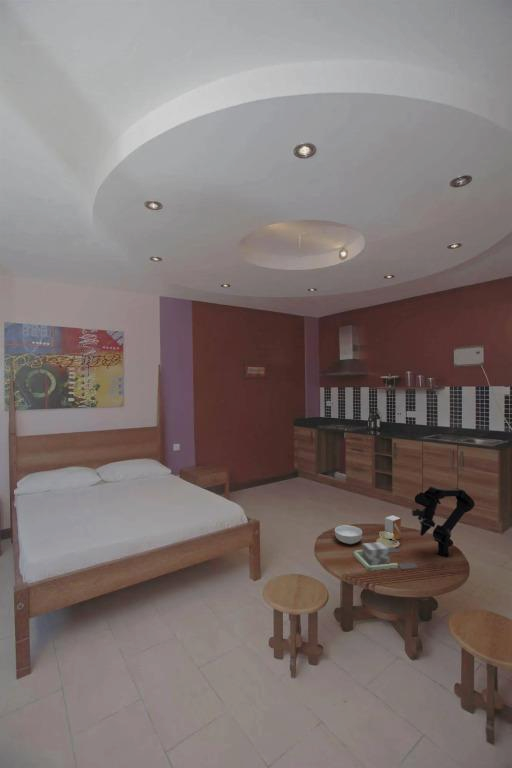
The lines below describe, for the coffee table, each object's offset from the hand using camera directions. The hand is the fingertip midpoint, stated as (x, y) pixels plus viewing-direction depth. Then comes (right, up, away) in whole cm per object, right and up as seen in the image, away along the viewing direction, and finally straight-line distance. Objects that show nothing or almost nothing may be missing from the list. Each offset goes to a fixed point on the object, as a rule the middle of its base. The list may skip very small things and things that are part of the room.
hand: (421, 535), depth 202 cm
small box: (-6, -13, +27) cm, 30 cm away
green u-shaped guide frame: (-22, -13, -1) cm, 26 cm away
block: (-26, -13, -2) cm, 30 cm away
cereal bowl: (-36, -13, +22) cm, 44 cm away
